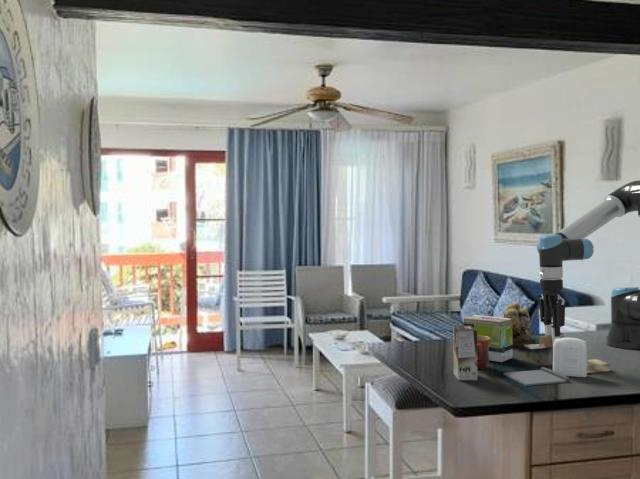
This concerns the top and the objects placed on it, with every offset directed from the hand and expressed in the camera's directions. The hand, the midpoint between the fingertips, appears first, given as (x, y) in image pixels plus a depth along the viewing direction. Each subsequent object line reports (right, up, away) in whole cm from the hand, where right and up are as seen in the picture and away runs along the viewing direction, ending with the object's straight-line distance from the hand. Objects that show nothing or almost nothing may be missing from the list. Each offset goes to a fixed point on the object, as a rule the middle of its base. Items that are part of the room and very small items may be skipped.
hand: (552, 344), depth 205 cm
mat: (-14, -7, -20) cm, 26 cm away
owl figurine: (-3, -5, +28) cm, 29 cm away
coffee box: (-36, -8, -17) cm, 40 cm away
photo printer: (-2, -7, -18) cm, 19 cm away
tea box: (-21, -7, +8) cm, 23 cm away
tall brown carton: (-2, -1, 0) cm, 2 cm away
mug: (-29, -7, -7) cm, 30 cm away
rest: (+7, -7, -11) cm, 15 cm away
